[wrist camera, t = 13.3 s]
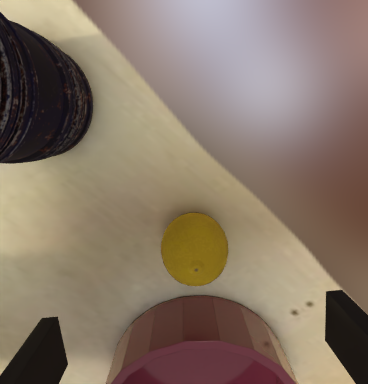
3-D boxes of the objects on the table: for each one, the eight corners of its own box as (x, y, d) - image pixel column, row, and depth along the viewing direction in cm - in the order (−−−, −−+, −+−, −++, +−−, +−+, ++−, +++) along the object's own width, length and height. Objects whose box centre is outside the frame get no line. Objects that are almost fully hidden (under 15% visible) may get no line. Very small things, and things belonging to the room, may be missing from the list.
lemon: (210, 194, 26) (222, 221, 19) (228, 246, 28) (246, 292, 20) (156, 213, 27) (144, 247, 19) (175, 263, 28) (172, 315, 20)
